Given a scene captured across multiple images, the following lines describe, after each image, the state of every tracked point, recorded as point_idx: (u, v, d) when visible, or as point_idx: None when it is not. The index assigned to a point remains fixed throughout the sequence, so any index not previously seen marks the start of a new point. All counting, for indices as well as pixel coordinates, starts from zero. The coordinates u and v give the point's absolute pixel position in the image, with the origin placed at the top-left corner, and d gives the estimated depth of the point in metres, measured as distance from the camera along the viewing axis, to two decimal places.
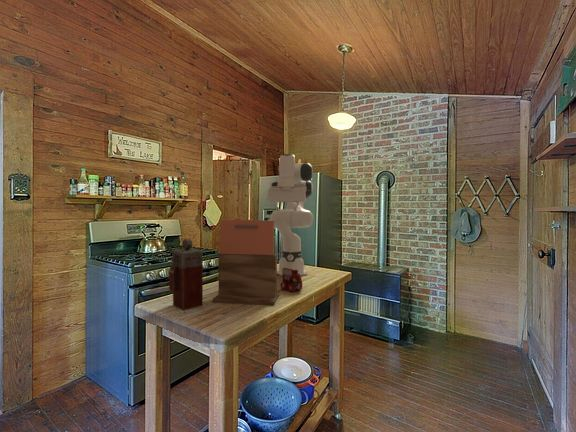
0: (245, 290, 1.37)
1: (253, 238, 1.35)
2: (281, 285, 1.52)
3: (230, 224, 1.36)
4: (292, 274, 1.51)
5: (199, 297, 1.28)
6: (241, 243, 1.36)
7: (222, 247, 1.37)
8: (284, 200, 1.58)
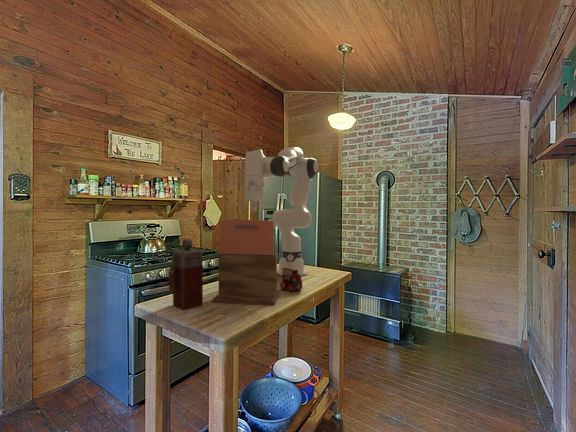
0: (245, 290, 1.37)
1: (253, 238, 1.35)
2: (281, 285, 1.52)
3: (230, 224, 1.36)
4: (292, 274, 1.51)
5: (199, 297, 1.28)
6: (241, 243, 1.36)
7: (222, 247, 1.37)
8: None
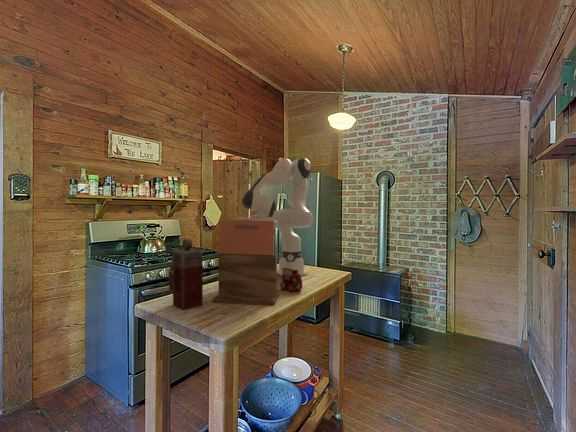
0: (245, 290, 1.37)
1: (253, 238, 1.35)
2: (281, 285, 1.52)
3: (230, 224, 1.36)
4: (292, 274, 1.51)
5: (199, 297, 1.28)
6: (241, 243, 1.36)
7: (222, 247, 1.37)
8: None
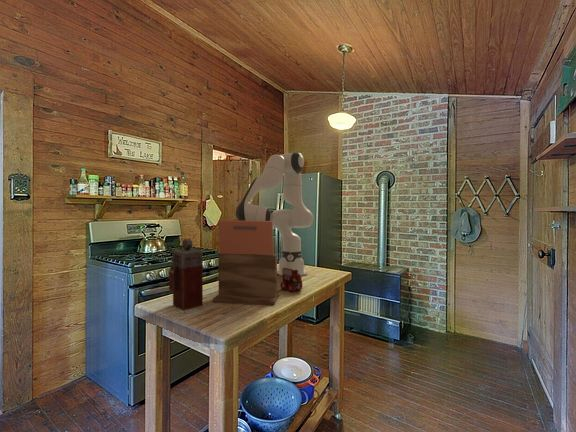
0: (245, 290, 1.37)
1: (252, 239, 1.34)
2: (281, 285, 1.52)
3: (228, 225, 1.34)
4: (292, 274, 1.51)
5: (199, 297, 1.28)
6: (240, 244, 1.35)
7: (222, 248, 1.37)
8: None
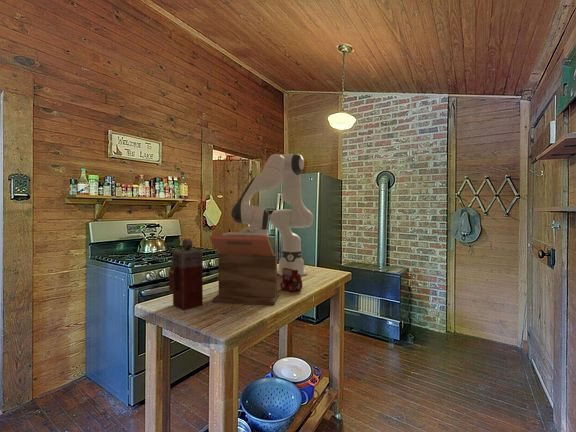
0: (245, 290, 1.37)
1: (249, 247, 1.29)
2: (281, 285, 1.52)
3: (221, 241, 1.25)
4: (292, 274, 1.51)
5: (199, 297, 1.28)
6: (238, 249, 1.32)
7: (220, 251, 1.35)
8: None
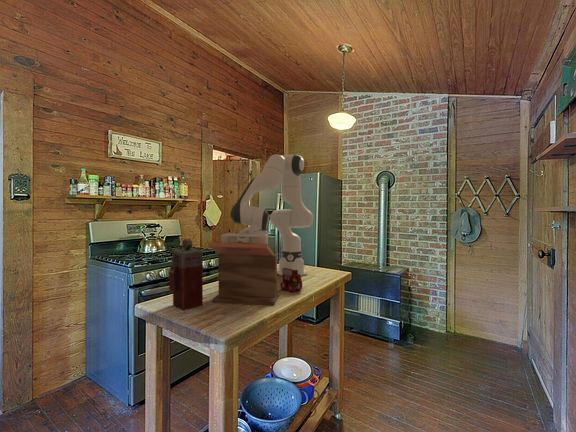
0: (245, 290, 1.37)
1: (249, 251, 1.29)
2: (281, 285, 1.52)
3: (220, 247, 1.24)
4: (292, 274, 1.51)
5: (199, 297, 1.28)
6: (238, 252, 1.31)
7: (220, 252, 1.35)
8: (245, 243, 1.31)
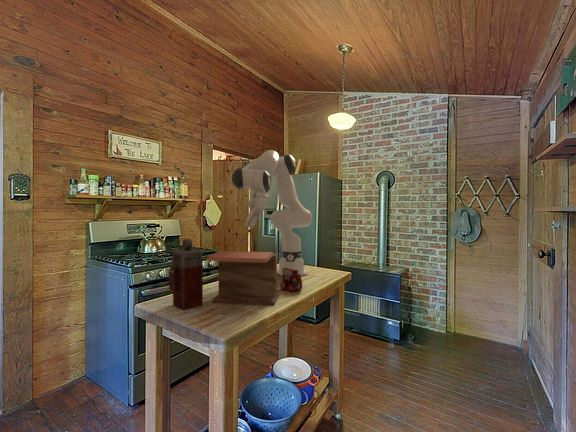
0: (245, 290, 1.37)
1: None
2: (281, 285, 1.52)
3: None
4: (292, 274, 1.51)
5: (199, 297, 1.28)
6: None
7: None
8: (257, 217, 1.48)
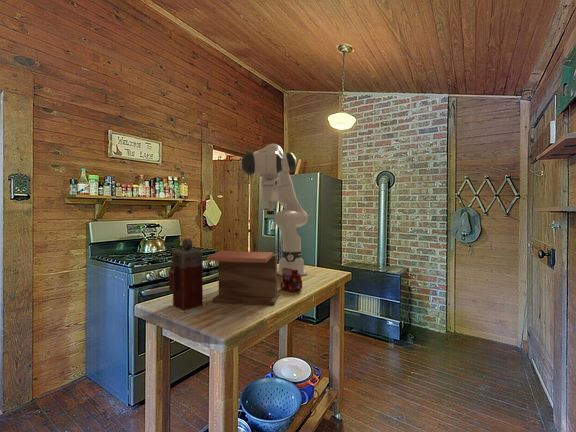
0: (245, 290, 1.37)
1: None
2: (281, 285, 1.52)
3: None
4: (292, 274, 1.51)
5: (199, 297, 1.28)
6: None
7: None
8: (274, 200, 1.48)
